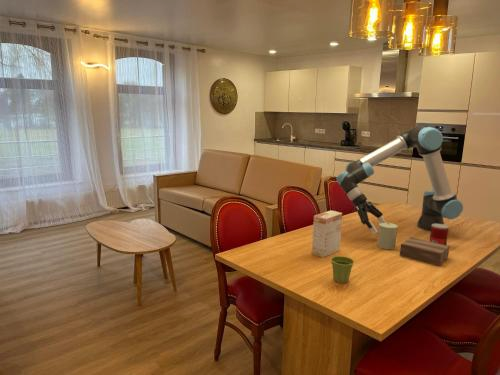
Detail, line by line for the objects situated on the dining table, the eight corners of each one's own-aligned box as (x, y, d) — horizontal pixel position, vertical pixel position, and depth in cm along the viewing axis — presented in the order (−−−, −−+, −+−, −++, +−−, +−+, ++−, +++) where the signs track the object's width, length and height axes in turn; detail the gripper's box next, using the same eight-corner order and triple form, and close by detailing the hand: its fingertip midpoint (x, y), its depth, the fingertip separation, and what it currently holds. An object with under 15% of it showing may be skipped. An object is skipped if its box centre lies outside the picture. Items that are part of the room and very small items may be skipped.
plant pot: (326, 275, 158) (327, 256, 156) (348, 274, 158) (349, 255, 157) (333, 285, 148) (334, 265, 147) (356, 284, 149) (357, 264, 147)
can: (395, 244, 197) (397, 222, 194) (396, 250, 188) (398, 227, 186) (377, 242, 200) (379, 220, 197) (376, 247, 191) (378, 225, 189)
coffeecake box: (328, 246, 192) (330, 210, 188) (340, 250, 187) (343, 212, 183) (310, 253, 181) (313, 215, 177) (323, 258, 176) (325, 218, 172)
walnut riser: (409, 248, 192) (411, 237, 190) (447, 257, 180) (449, 246, 178) (399, 255, 181) (400, 243, 180) (439, 266, 170) (440, 253, 168)
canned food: (447, 248, 192) (450, 228, 190) (431, 247, 194) (433, 227, 191) (443, 243, 199) (446, 224, 197) (427, 242, 201) (429, 222, 199)
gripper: (362, 197, 212) (385, 228, 205) (340, 204, 194) (365, 239, 187) (372, 190, 207) (396, 221, 200) (350, 196, 189) (376, 231, 182)
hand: (381, 230), depth 194 cm, fingers open, 13 cm apart
